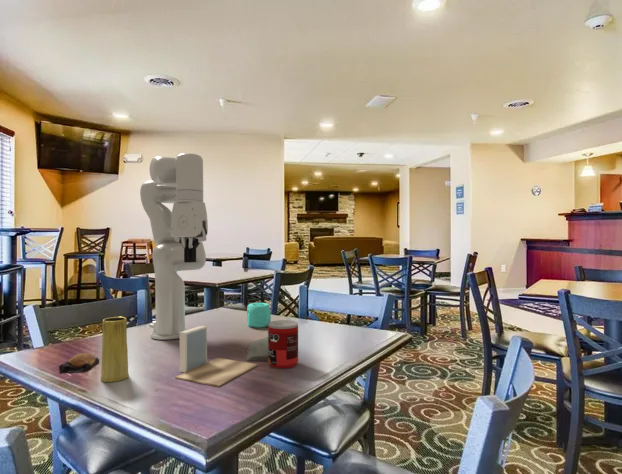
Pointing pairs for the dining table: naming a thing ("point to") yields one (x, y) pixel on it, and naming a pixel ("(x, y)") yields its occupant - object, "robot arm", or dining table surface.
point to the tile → (193, 348)
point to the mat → (217, 372)
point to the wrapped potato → (79, 363)
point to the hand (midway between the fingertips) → (190, 262)
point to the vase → (114, 350)
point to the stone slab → (258, 350)
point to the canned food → (283, 344)
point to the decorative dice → (258, 315)
